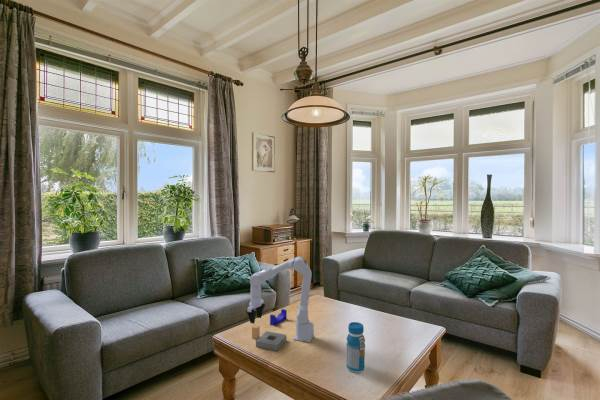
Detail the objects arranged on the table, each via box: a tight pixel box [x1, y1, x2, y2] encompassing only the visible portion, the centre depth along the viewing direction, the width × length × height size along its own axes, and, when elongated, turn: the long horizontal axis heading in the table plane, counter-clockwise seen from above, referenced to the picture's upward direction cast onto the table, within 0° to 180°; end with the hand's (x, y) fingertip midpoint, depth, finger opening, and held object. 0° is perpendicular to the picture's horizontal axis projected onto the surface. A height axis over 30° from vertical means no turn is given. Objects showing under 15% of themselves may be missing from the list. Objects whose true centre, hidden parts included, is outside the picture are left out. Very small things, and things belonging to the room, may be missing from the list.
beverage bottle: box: [345, 321, 366, 374], centre depth 142 cm, size 8×8×20 cm
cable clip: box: [269, 308, 288, 327], centre depth 192 cm, size 12×4×6 cm, turn 144°
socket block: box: [255, 330, 287, 352], centre depth 165 cm, size 12×12×3 cm
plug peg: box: [251, 324, 261, 340], centre depth 171 cm, size 3×3×6 cm
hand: (255, 320), depth 171 cm, fingers open, 7 cm apart
